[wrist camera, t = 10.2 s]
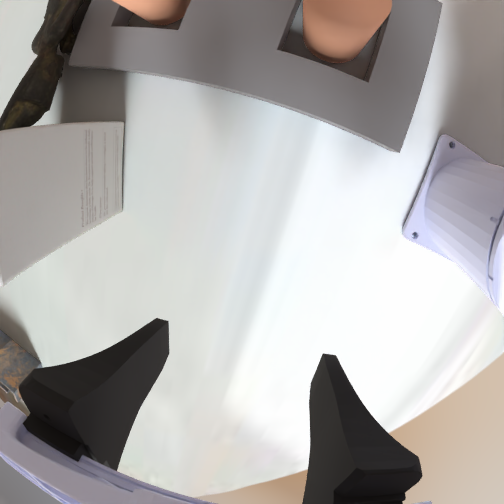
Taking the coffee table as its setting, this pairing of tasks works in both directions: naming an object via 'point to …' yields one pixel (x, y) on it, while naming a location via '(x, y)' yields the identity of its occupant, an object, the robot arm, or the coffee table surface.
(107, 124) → the supplement box
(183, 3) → the pin
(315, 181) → the coffee table surface
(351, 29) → the pin
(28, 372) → the ruin model on sheet
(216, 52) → the pegboard
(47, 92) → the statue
